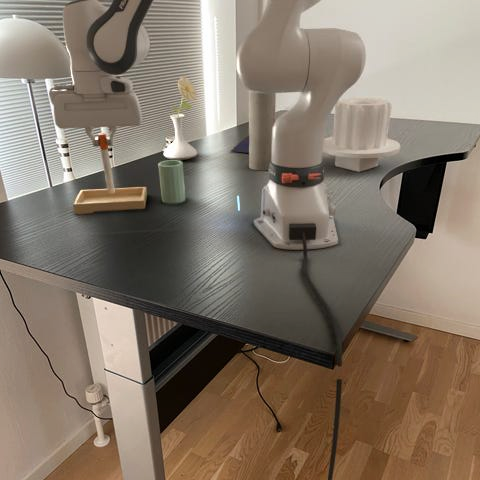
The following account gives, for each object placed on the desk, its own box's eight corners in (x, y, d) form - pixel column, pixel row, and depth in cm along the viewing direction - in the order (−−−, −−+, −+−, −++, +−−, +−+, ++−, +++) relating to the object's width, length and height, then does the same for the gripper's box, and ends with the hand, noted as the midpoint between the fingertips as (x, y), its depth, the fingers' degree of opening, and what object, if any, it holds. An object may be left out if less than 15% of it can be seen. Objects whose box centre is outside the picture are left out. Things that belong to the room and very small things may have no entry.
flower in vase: (174, 164, 157) (167, 80, 144) (158, 158, 165) (149, 77, 151) (207, 158, 163) (203, 77, 150) (190, 152, 171) (185, 74, 158)
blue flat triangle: (321, 136, 183) (321, 126, 180) (294, 165, 162) (294, 154, 160) (263, 131, 192) (263, 122, 189) (230, 158, 171) (229, 148, 169)
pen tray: (145, 210, 121) (143, 200, 120) (75, 214, 119) (72, 204, 118) (147, 196, 130) (146, 186, 129) (82, 199, 129) (80, 190, 127)
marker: (115, 193, 123) (105, 134, 115) (107, 193, 123) (96, 135, 115) (115, 191, 125) (106, 132, 117) (108, 191, 125) (98, 133, 117)
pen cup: (186, 204, 124) (182, 165, 119) (162, 206, 123) (157, 167, 118) (185, 197, 129) (182, 159, 124) (162, 198, 129) (158, 160, 123)
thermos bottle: (275, 164, 156) (277, 67, 140) (272, 171, 149) (274, 70, 134) (251, 163, 157) (251, 67, 142) (247, 170, 150) (246, 70, 135)
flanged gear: (412, 166, 151) (424, 101, 141) (364, 182, 138) (373, 112, 127) (349, 152, 167) (355, 93, 157) (300, 165, 153) (304, 102, 143)
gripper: (43, 87, 106) (57, 150, 114) (136, 84, 108) (144, 147, 115) (50, 83, 111) (63, 144, 119) (138, 80, 113) (145, 141, 121)
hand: (103, 145), depth 117 cm, fingers closed on marker, 2 cm apart
